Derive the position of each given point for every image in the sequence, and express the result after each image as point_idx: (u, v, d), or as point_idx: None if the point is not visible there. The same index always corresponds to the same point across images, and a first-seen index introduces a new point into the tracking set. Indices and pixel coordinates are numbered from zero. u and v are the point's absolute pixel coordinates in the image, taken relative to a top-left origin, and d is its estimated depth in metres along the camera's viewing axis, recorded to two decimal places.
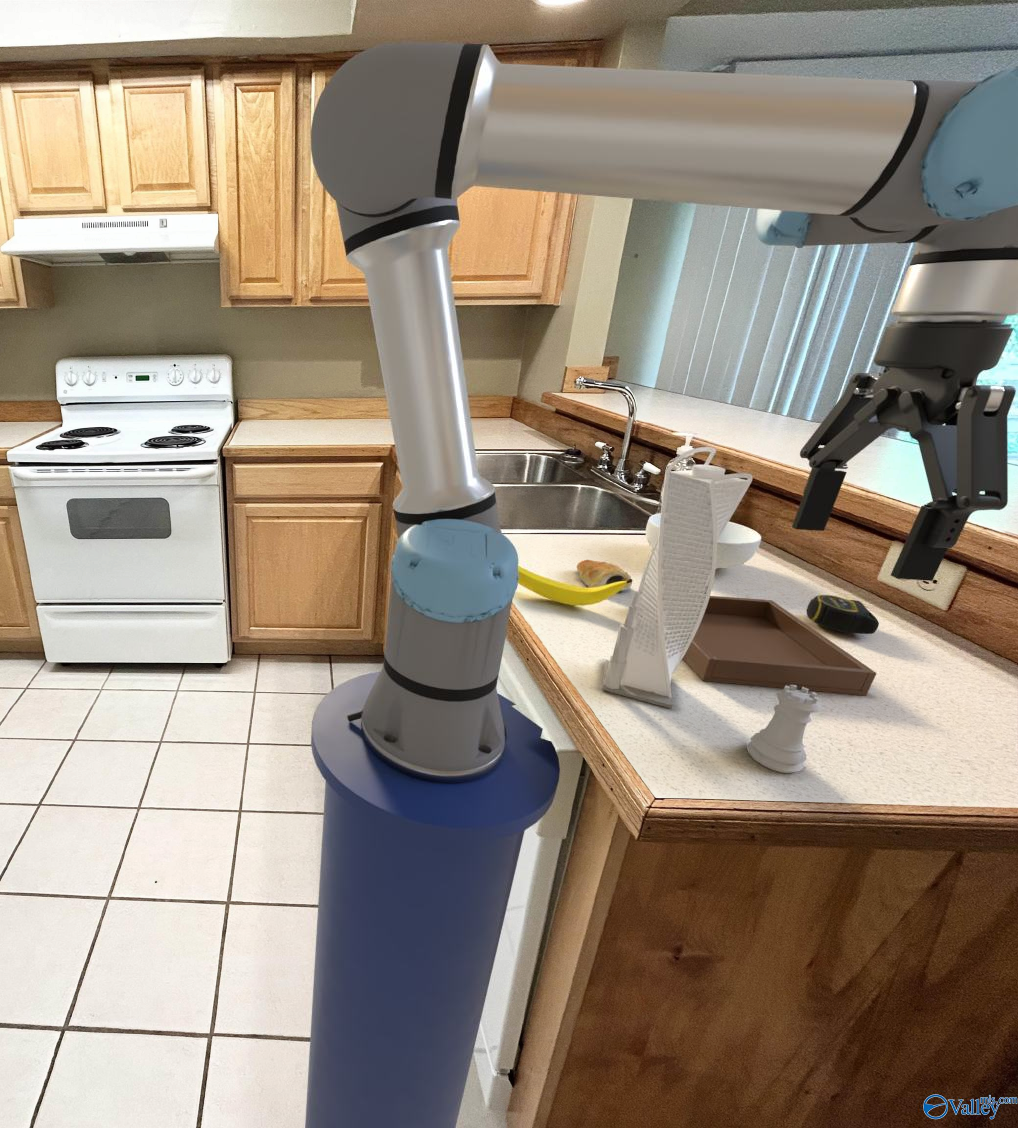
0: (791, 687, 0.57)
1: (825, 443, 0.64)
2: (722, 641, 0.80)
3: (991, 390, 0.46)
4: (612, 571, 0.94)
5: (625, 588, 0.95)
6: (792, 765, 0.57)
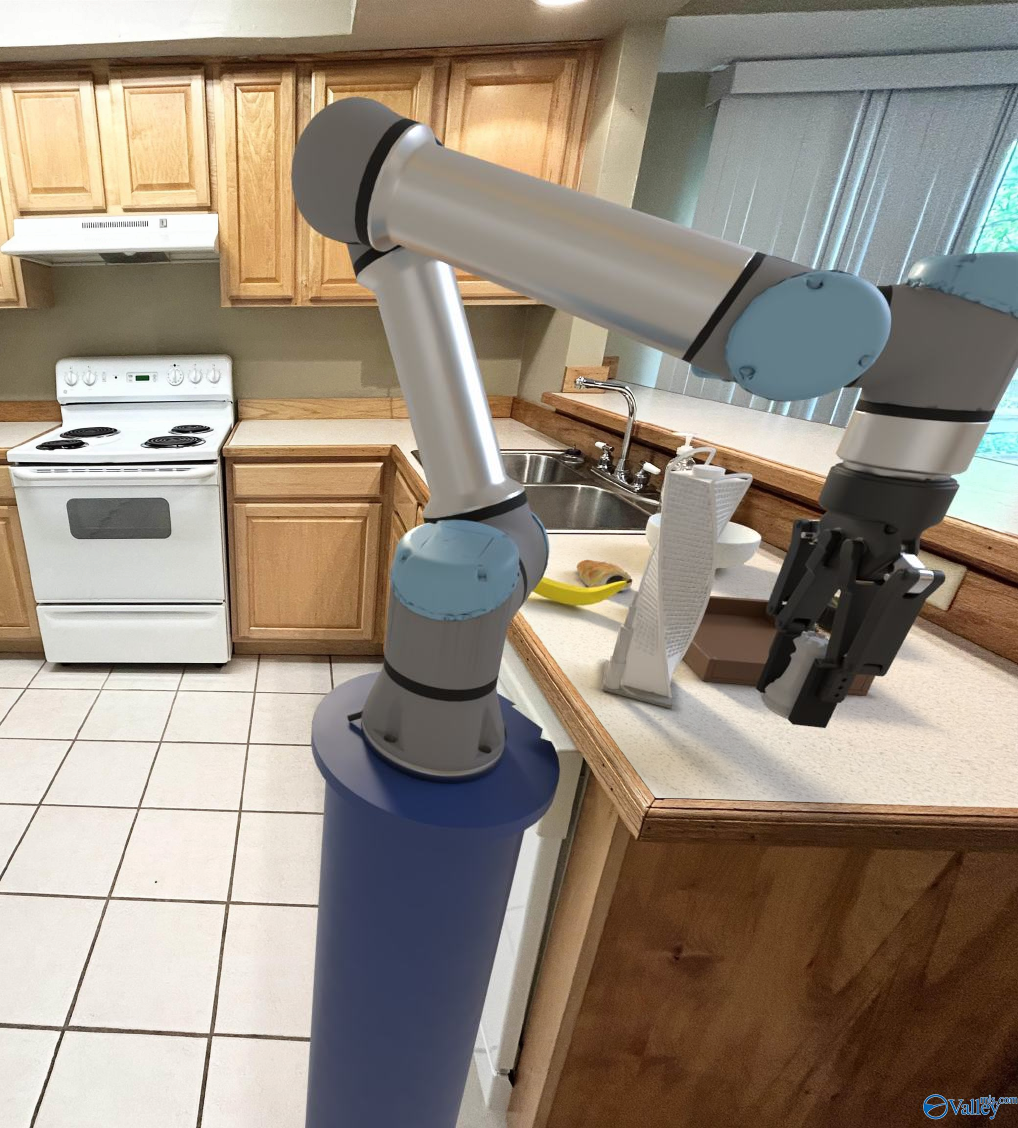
0: (809, 633, 0.55)
1: None
2: (722, 641, 0.80)
3: (919, 579, 0.44)
4: (612, 571, 0.94)
5: (625, 588, 0.95)
6: None
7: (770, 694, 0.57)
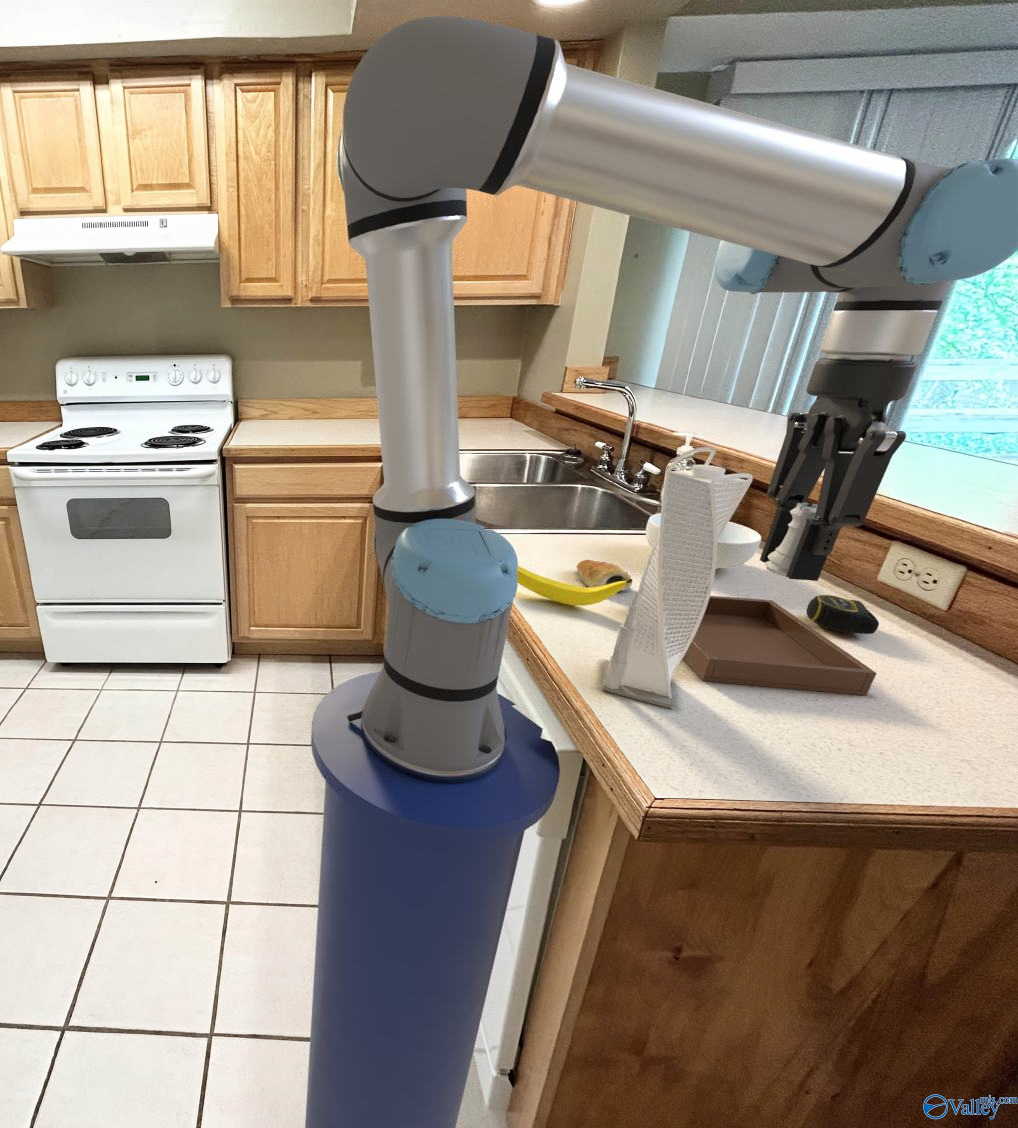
0: (802, 504, 0.67)
1: None
2: (722, 641, 0.80)
3: (886, 437, 0.56)
4: (612, 571, 0.94)
5: (625, 588, 0.95)
6: None
7: (772, 558, 0.68)
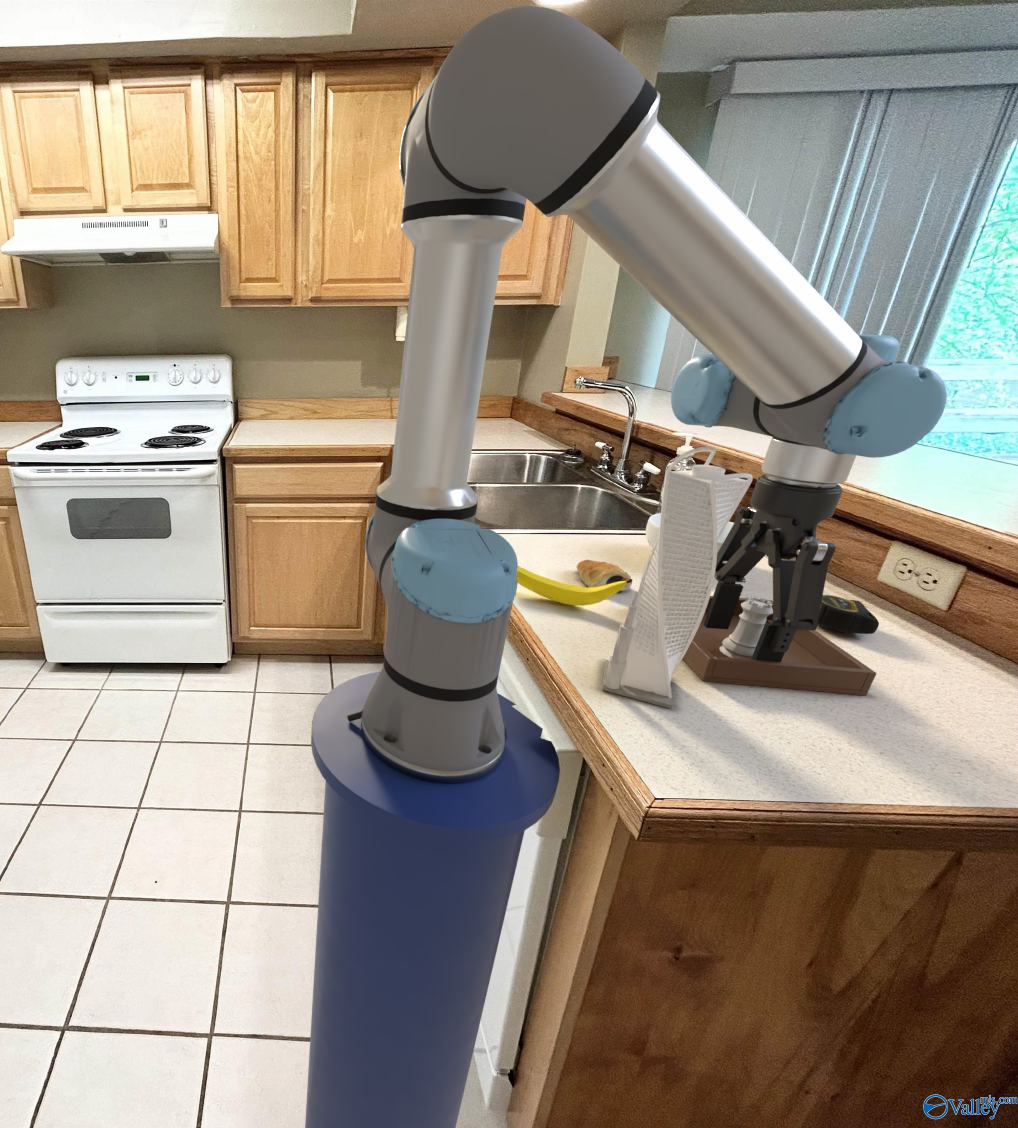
0: (752, 598, 0.74)
1: (728, 559, 0.80)
2: None
3: (818, 548, 0.64)
4: (612, 571, 0.94)
5: (625, 588, 0.95)
6: None
7: (725, 645, 0.76)
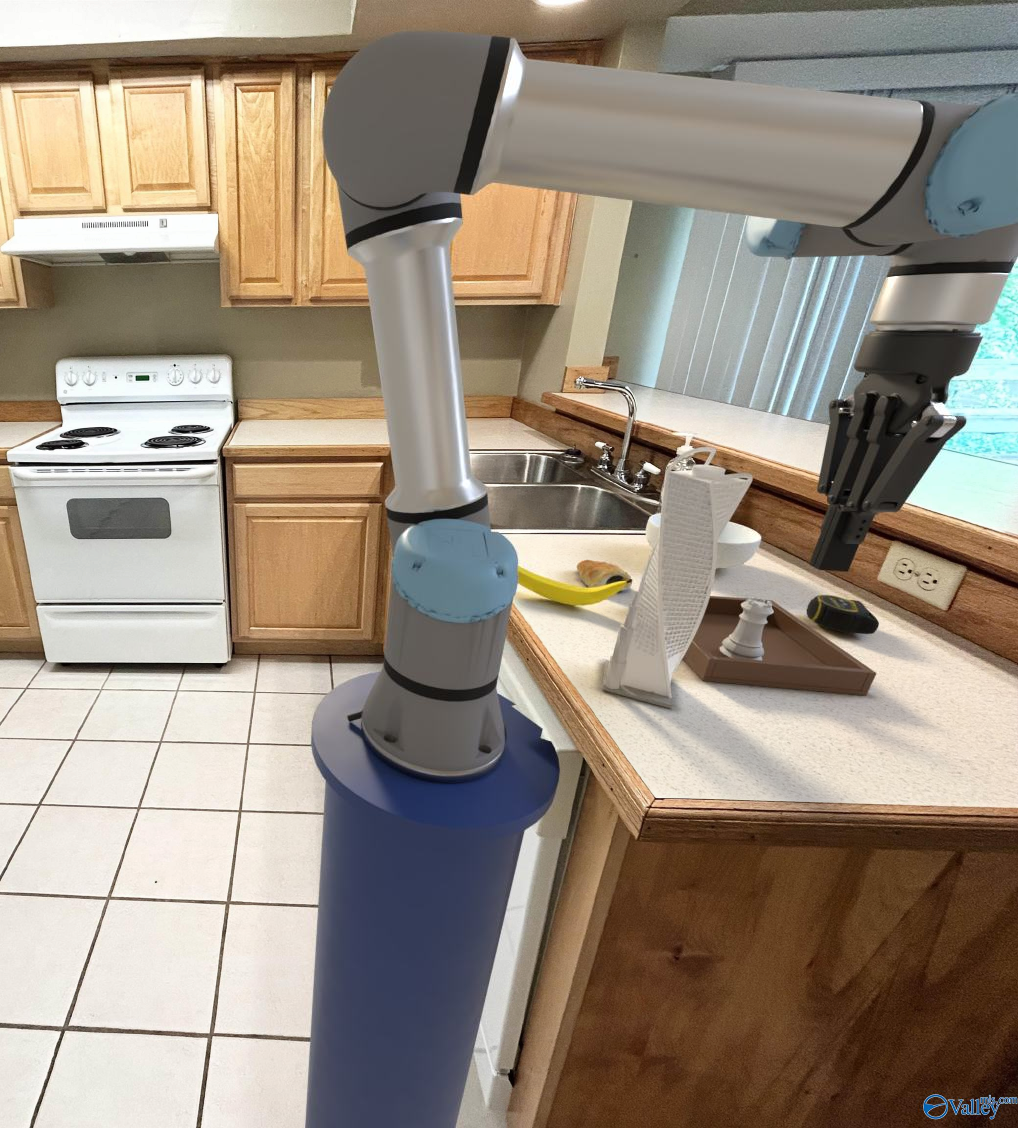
0: (752, 598, 0.74)
1: None
2: None
3: (943, 424, 0.51)
4: (612, 571, 0.94)
5: (625, 588, 0.95)
6: (753, 658, 0.74)
7: (725, 645, 0.76)
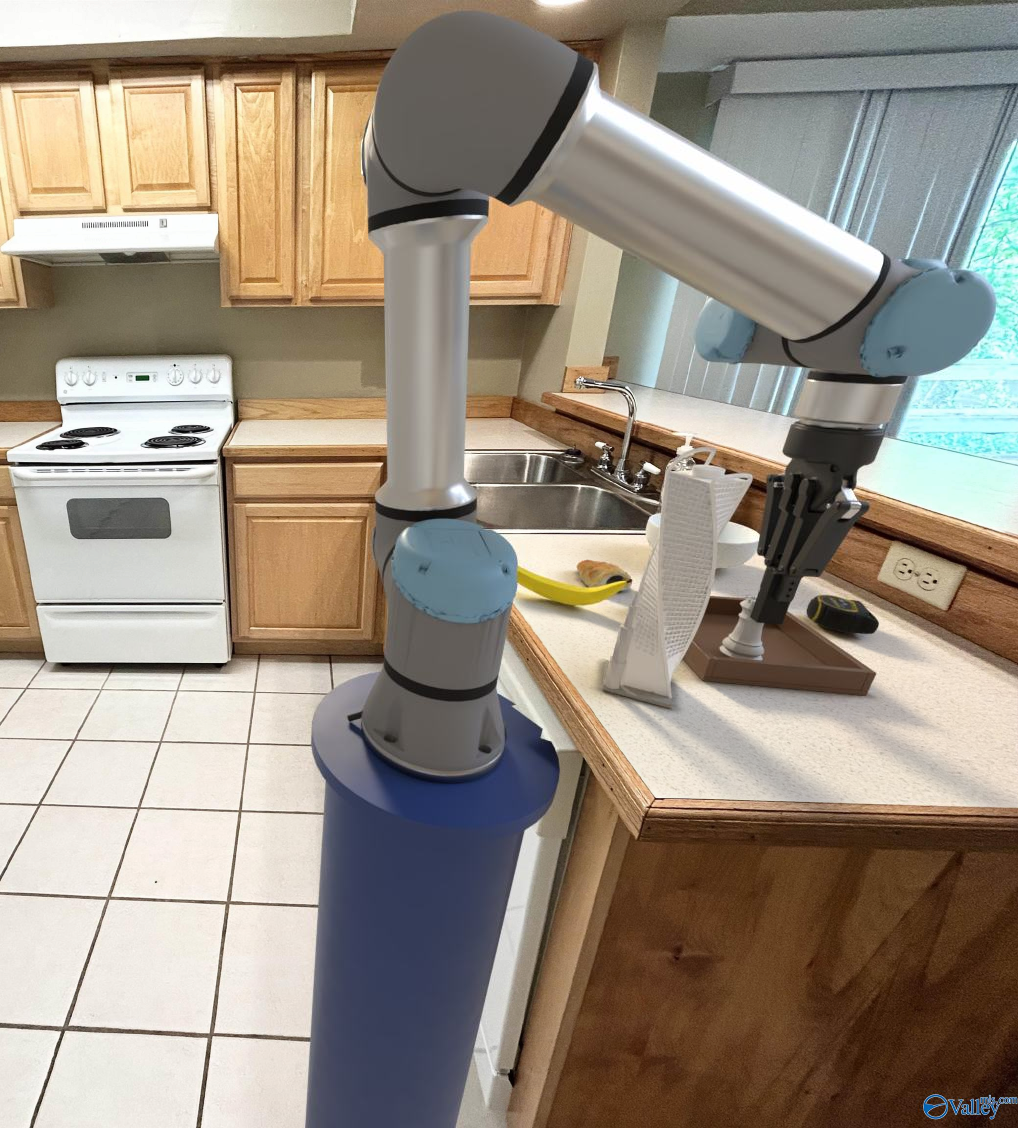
0: (751, 597, 0.74)
1: None
2: None
3: (850, 509, 0.60)
4: (612, 571, 0.94)
5: (625, 588, 0.95)
6: (753, 657, 0.74)
7: (725, 644, 0.76)
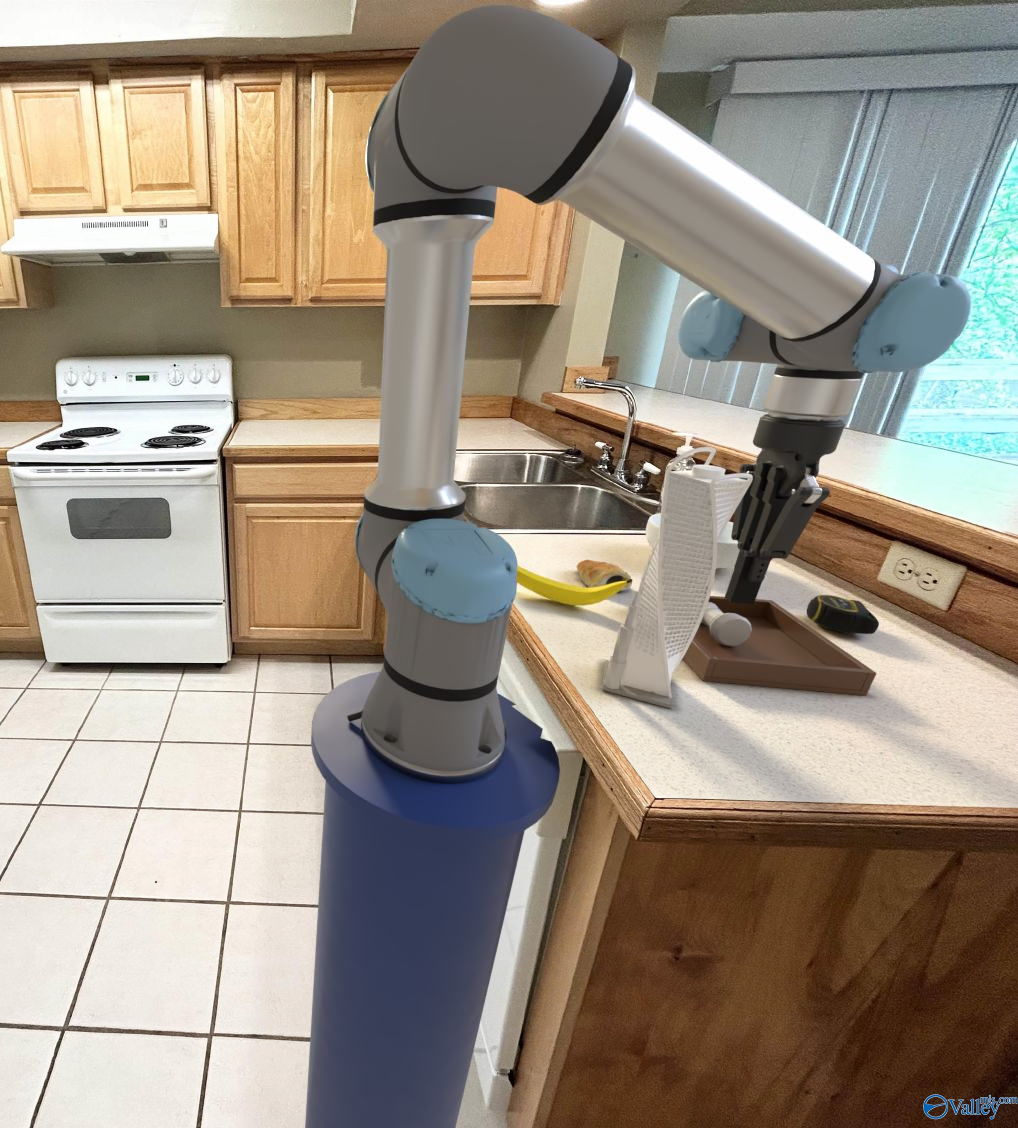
0: None
1: None
2: None
3: (812, 494, 0.65)
4: (612, 571, 0.94)
5: (625, 588, 0.95)
6: None
7: (710, 625, 0.79)
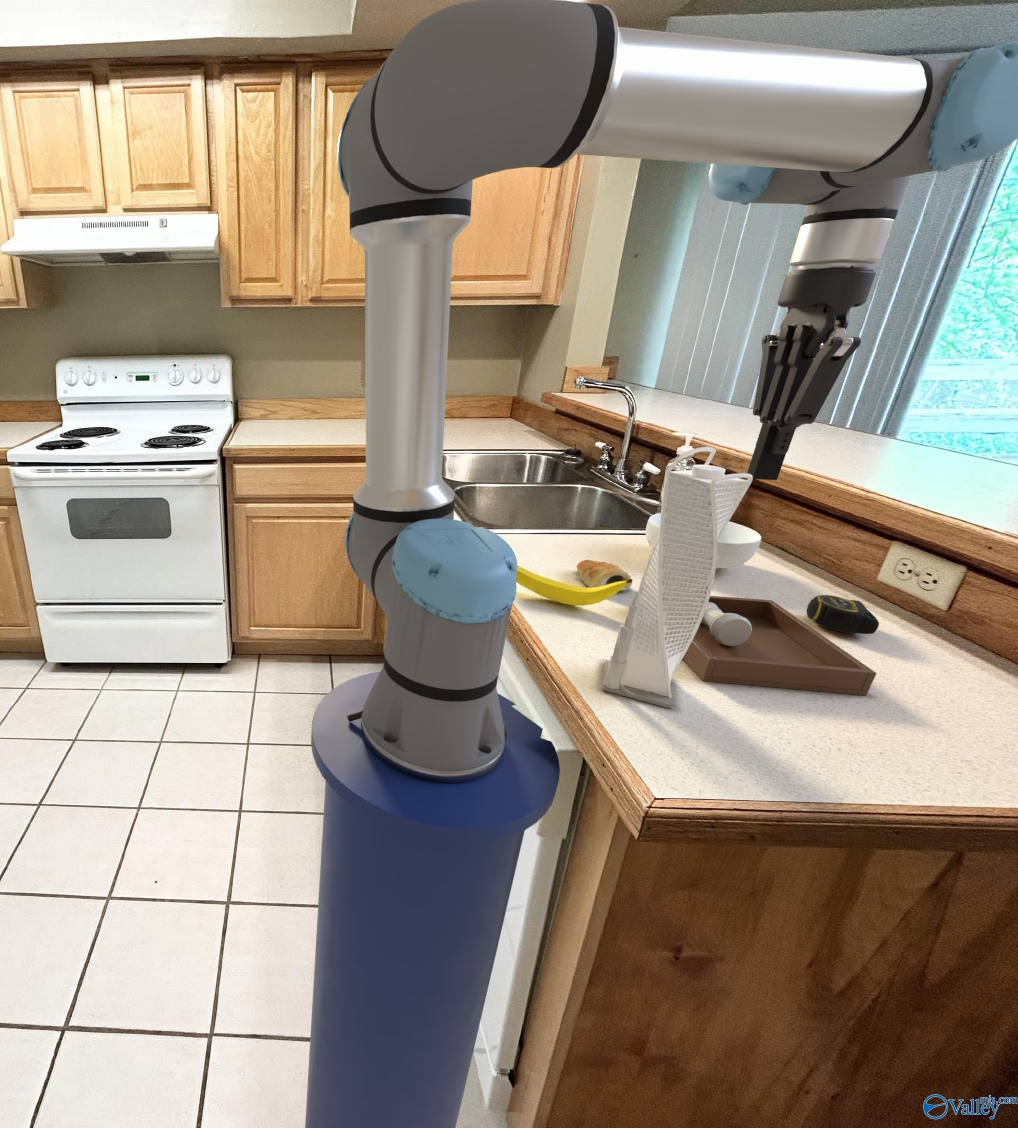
0: None
1: None
2: None
3: (842, 344, 0.62)
4: (612, 571, 0.94)
5: (625, 588, 0.95)
6: None
7: (711, 625, 0.79)
